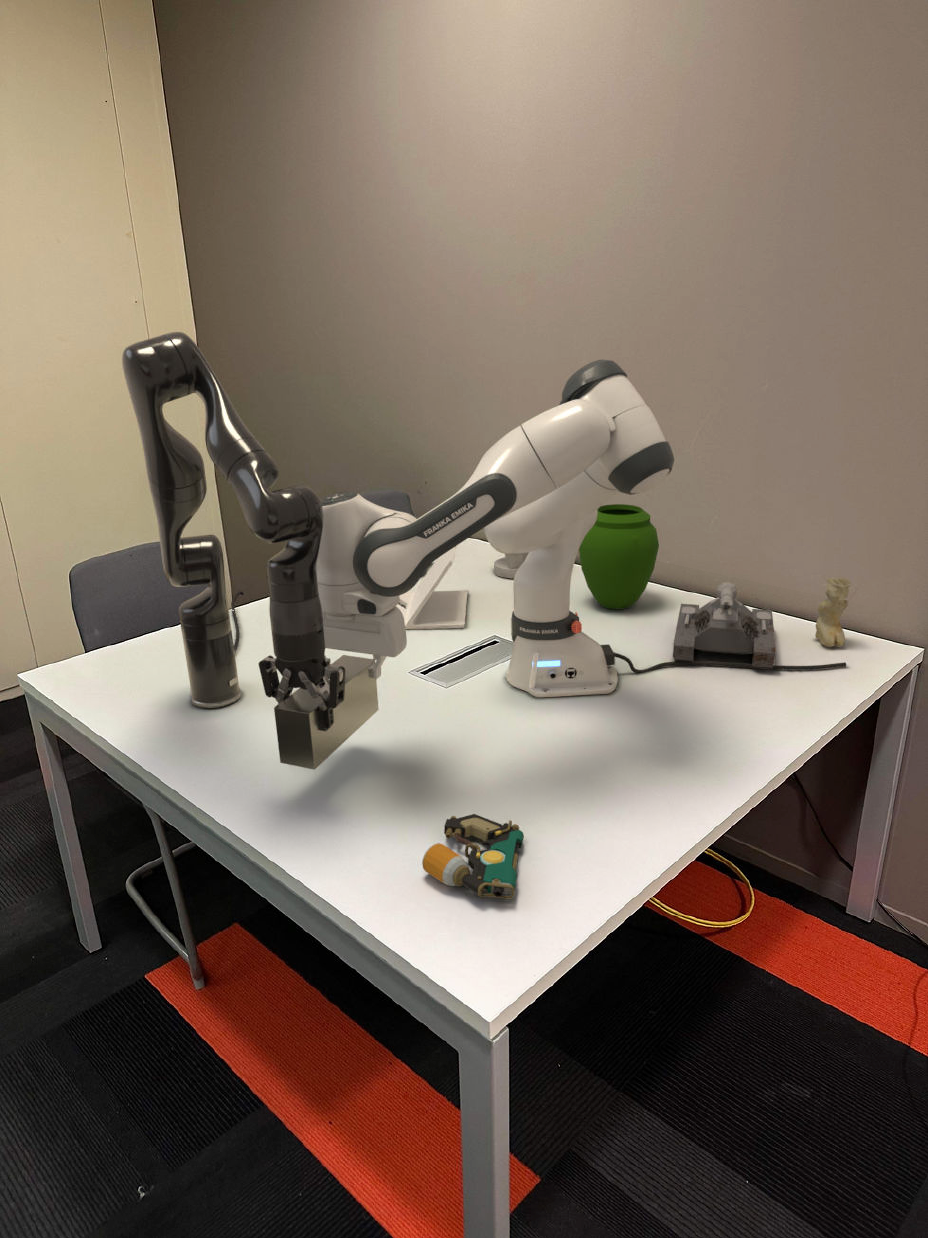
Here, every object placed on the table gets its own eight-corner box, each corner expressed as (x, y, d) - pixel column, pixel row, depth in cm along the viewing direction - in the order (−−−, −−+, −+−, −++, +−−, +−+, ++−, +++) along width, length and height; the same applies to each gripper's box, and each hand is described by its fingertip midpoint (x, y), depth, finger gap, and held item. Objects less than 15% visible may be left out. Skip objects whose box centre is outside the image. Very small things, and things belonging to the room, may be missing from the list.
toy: (679, 623, 201) (683, 562, 196) (769, 630, 195) (776, 567, 190) (671, 666, 178) (676, 598, 173) (773, 675, 173) (781, 605, 167)
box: (347, 704, 149) (343, 654, 146) (378, 709, 147) (375, 659, 143) (280, 763, 131) (273, 707, 127) (314, 770, 129) (309, 713, 125)
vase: (599, 587, 227) (601, 497, 218) (668, 600, 216) (673, 505, 208) (562, 608, 212) (564, 513, 204) (634, 623, 202) (639, 523, 193)
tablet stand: (467, 593, 225) (465, 531, 219) (465, 628, 202) (462, 559, 196) (399, 594, 226) (395, 532, 220) (388, 629, 203) (384, 560, 197)
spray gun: (457, 823, 128) (551, 849, 122) (403, 883, 114) (507, 916, 108) (457, 798, 127) (553, 823, 121) (403, 855, 113) (509, 887, 107)
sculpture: (821, 649, 184) (830, 583, 179) (808, 637, 191) (816, 573, 185) (848, 649, 184) (858, 582, 179) (834, 636, 191) (843, 572, 185)
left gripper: (240, 627, 124) (253, 729, 130) (326, 638, 119) (336, 744, 125) (270, 610, 131) (281, 708, 137) (352, 620, 126) (360, 722, 132)
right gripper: (276, 594, 137) (285, 672, 142) (391, 607, 130) (396, 689, 135) (297, 582, 143) (305, 658, 148) (408, 594, 136) (412, 673, 141)
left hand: (307, 725), depth 131 cm, fingers closed on box, 6 cm apart
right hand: (349, 673), depth 141 cm, fingers open, 8 cm apart
